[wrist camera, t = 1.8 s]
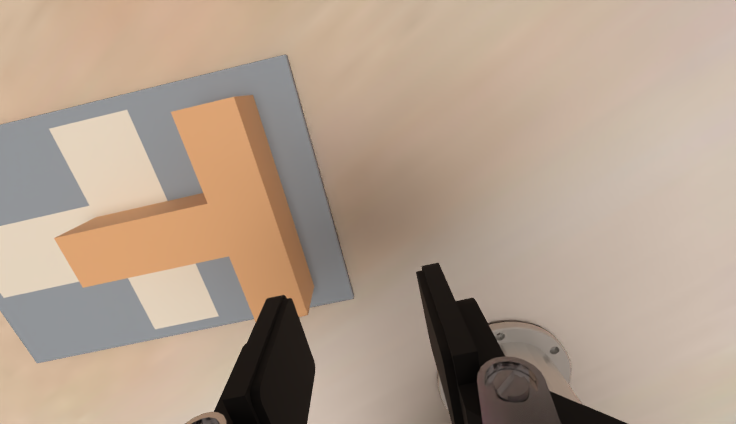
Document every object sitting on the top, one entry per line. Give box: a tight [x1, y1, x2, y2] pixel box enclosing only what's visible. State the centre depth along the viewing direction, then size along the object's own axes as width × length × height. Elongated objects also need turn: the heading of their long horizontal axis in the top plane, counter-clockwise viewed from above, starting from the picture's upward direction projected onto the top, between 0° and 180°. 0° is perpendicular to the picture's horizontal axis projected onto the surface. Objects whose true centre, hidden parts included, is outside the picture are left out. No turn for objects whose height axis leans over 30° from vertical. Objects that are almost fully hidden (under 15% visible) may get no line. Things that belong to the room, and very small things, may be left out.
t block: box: [54, 95, 314, 322], centre depth 26 cm, size 16×15×4 cm
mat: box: [0, 55, 354, 363], centre depth 28 cm, size 20×30×1 cm, turn 103°
